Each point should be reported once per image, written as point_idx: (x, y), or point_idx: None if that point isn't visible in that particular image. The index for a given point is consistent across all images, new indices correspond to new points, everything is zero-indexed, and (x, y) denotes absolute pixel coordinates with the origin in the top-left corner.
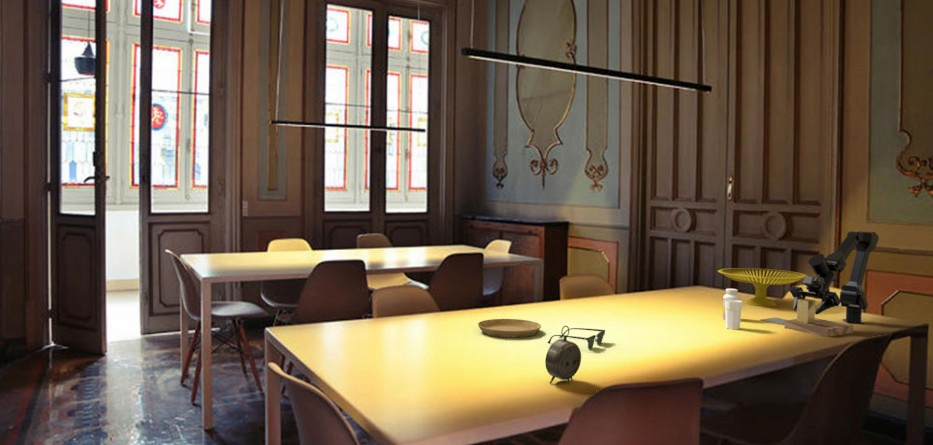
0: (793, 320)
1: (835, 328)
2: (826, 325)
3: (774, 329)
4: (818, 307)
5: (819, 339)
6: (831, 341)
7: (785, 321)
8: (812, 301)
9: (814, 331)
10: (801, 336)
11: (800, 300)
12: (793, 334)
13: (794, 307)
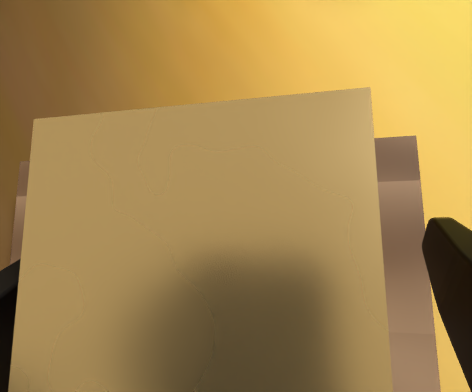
0: (383, 229)
1: (14, 259)
2: None
3: (388, 43)
4: (5, 282)
5: (59, 70)
6: (4, 89)
7: (402, 138)
8: (36, 317)
9: None
10: (153, 38)
11: (263, 104)
12: (211, 38)
13: (448, 232)
